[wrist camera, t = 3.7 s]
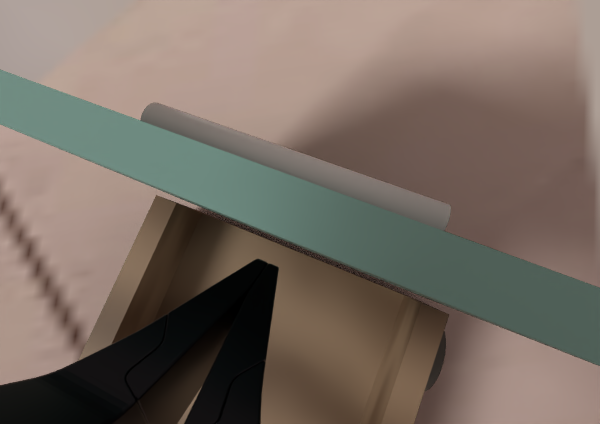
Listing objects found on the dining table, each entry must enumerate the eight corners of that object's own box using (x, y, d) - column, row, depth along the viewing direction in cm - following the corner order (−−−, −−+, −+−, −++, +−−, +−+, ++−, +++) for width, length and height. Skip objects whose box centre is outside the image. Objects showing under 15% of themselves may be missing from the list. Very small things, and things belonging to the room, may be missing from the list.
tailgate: (426, 298, 15) (662, 390, 4) (188, 201, 18) (-39, 108, 7) (439, 259, 16) (692, 258, 5) (202, 169, 18) (7, 29, 7)
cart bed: (351, 546, 16) (363, 693, 11) (98, 403, 19) (4, 462, 13) (432, 305, 18) (477, 326, 12) (188, 206, 20) (136, 187, 15)
